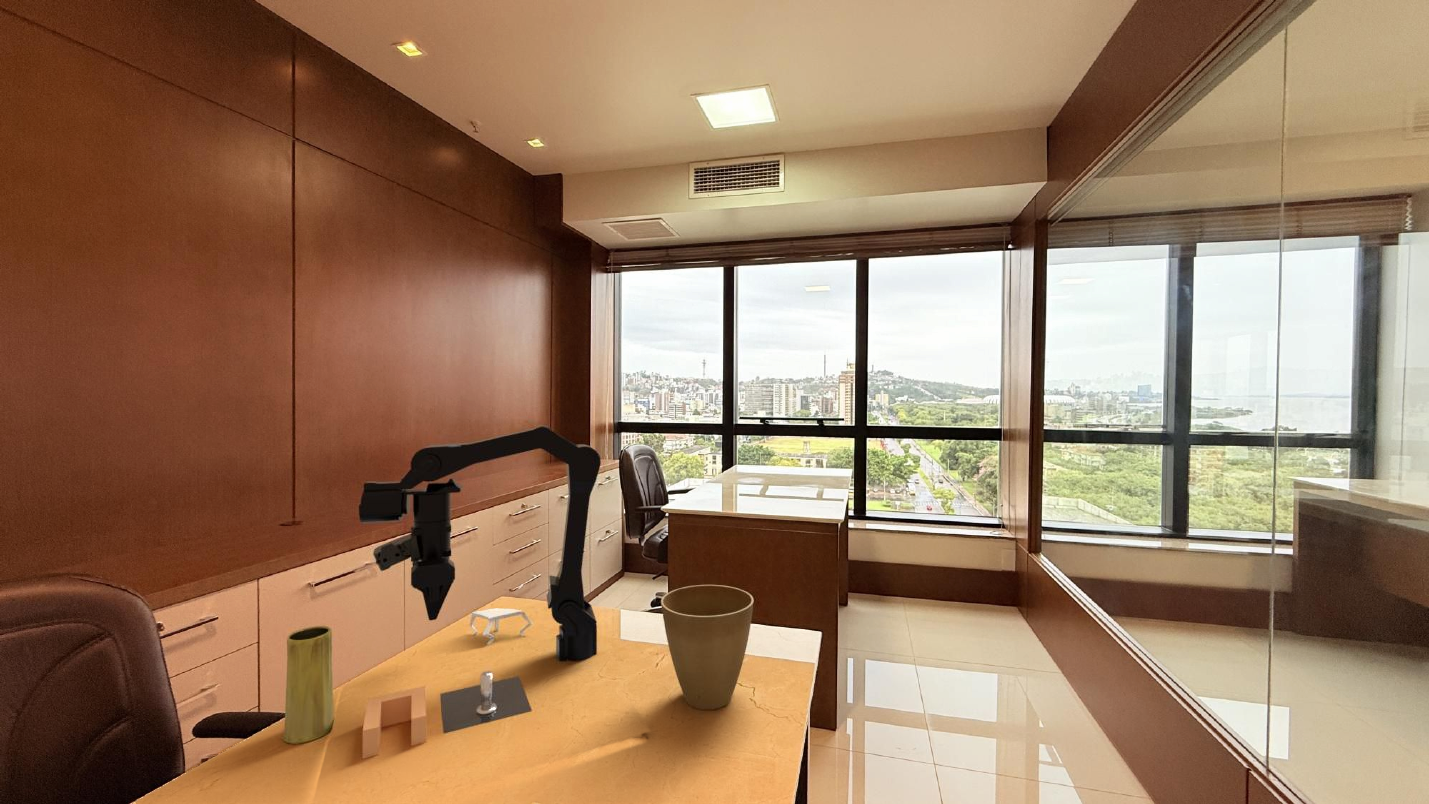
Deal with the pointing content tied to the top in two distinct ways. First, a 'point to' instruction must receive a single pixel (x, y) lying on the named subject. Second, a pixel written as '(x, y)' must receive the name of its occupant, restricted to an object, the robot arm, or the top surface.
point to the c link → (394, 717)
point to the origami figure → (496, 619)
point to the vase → (309, 685)
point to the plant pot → (707, 640)
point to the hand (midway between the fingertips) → (432, 610)
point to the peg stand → (483, 703)
